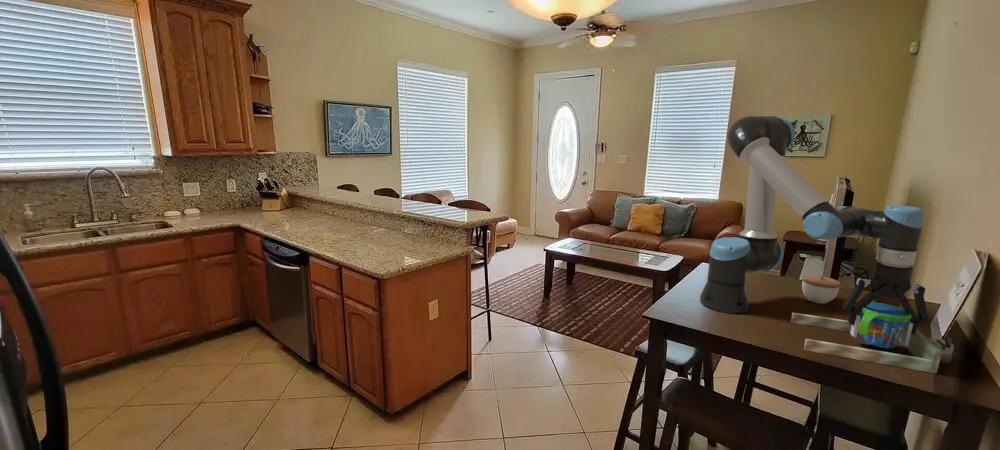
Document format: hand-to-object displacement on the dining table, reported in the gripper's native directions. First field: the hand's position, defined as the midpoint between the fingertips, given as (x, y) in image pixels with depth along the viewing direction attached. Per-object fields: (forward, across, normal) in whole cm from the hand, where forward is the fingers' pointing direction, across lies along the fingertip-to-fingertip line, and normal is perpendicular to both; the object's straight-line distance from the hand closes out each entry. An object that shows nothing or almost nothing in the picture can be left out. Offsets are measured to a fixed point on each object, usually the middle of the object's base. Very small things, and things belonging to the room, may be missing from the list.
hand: (878, 339), depth 116 cm
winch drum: (+3, +13, 0) cm, 13 cm away
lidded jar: (+3, -6, +35) cm, 36 cm away
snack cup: (+1, 0, 0) cm, 1 cm away
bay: (+3, -5, 0) cm, 6 cm away
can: (+3, +11, +29) cm, 31 cm away
